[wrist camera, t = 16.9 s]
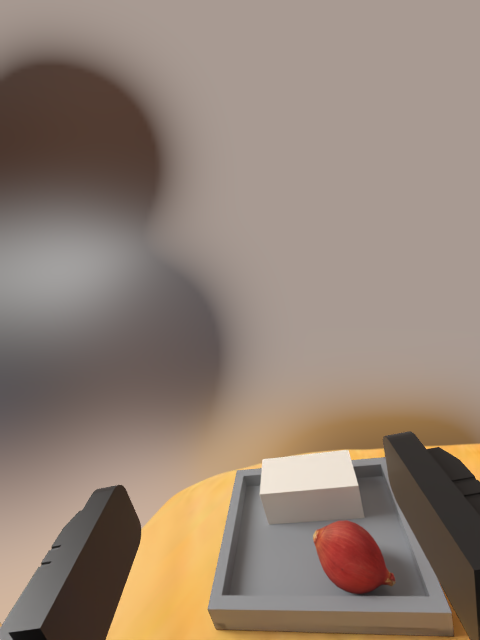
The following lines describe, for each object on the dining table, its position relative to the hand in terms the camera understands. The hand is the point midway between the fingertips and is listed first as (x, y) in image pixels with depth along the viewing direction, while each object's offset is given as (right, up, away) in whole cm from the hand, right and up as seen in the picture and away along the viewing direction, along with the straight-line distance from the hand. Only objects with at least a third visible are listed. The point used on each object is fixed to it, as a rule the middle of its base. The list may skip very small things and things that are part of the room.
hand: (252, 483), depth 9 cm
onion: (+7, -18, +23) cm, 30 cm away
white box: (+9, -20, +32) cm, 39 cm away
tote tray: (+9, -22, +28) cm, 37 cm away
